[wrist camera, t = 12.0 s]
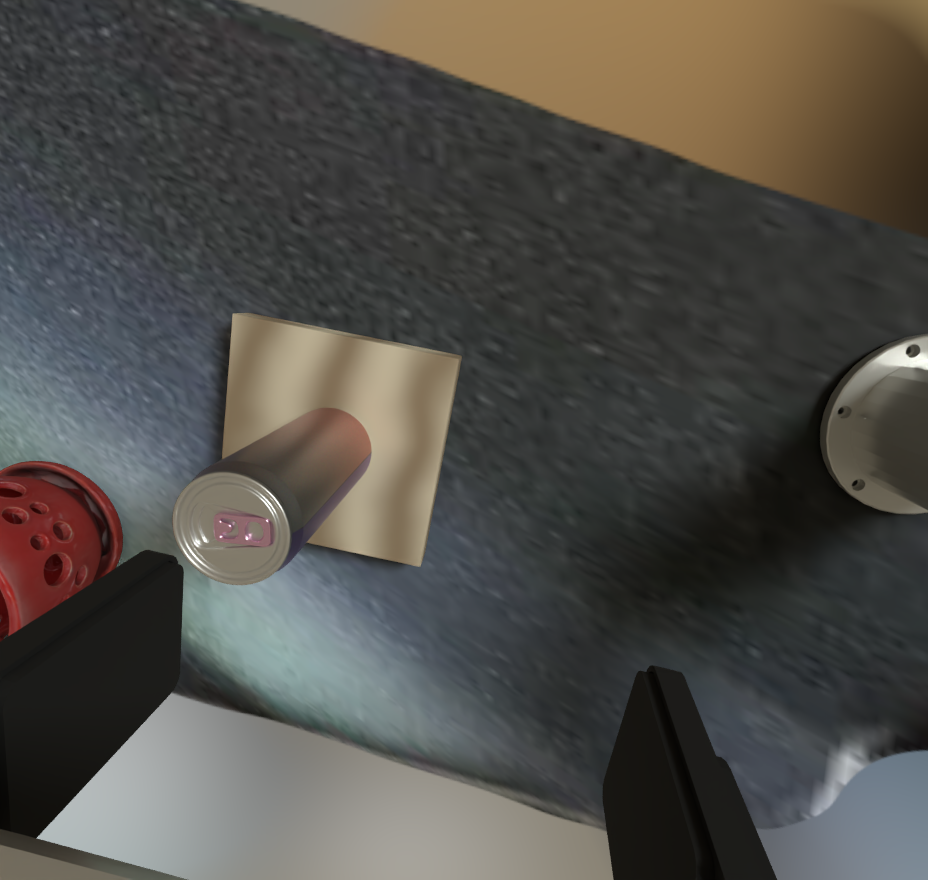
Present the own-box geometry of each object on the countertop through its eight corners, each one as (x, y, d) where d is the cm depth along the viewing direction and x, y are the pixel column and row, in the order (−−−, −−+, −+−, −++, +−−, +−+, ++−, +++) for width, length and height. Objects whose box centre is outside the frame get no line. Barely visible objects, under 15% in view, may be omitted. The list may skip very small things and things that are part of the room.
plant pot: (-37, 489, 45) (-224, 554, 34) (83, 425, 43) (-74, 471, 31) (54, 616, 48) (-92, 717, 36) (172, 562, 45) (57, 651, 34)
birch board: (462, 355, 39) (459, 359, 37) (425, 552, 43) (420, 566, 41) (249, 312, 40) (232, 313, 37) (232, 511, 44) (217, 523, 41)
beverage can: (372, 488, 40) (294, 596, 25) (293, 480, 40) (171, 582, 25) (375, 409, 38) (293, 475, 24) (293, 402, 38) (163, 462, 24)
